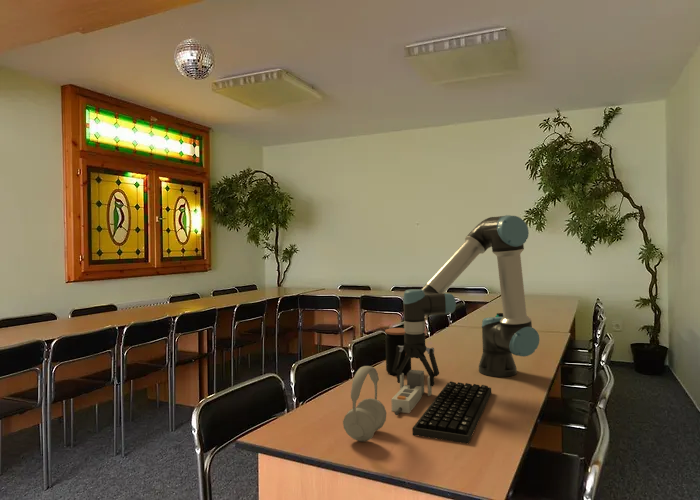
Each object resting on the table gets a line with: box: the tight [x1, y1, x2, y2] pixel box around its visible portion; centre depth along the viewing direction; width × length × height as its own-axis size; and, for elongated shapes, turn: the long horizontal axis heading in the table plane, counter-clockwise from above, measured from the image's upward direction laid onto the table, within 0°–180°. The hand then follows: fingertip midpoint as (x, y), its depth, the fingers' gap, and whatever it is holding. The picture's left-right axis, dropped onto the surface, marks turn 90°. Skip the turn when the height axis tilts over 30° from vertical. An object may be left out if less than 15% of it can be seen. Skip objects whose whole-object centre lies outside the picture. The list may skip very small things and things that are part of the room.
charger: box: [406, 369, 425, 396], centre depth 169 cm, size 5×9×8 cm, turn 157°
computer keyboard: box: [411, 381, 492, 445], centre depth 152 cm, size 45×16×4 cm, turn 155°
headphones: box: [342, 365, 387, 442], centre depth 135 cm, size 19×9×20 cm, turn 157°
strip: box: [390, 384, 423, 416], centre depth 158 cm, size 6×20×5 cm, turn 157°
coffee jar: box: [384, 327, 412, 376], centre depth 199 cm, size 11×11×18 cm
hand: (415, 393), depth 171 cm, fingers open, 10 cm apart
